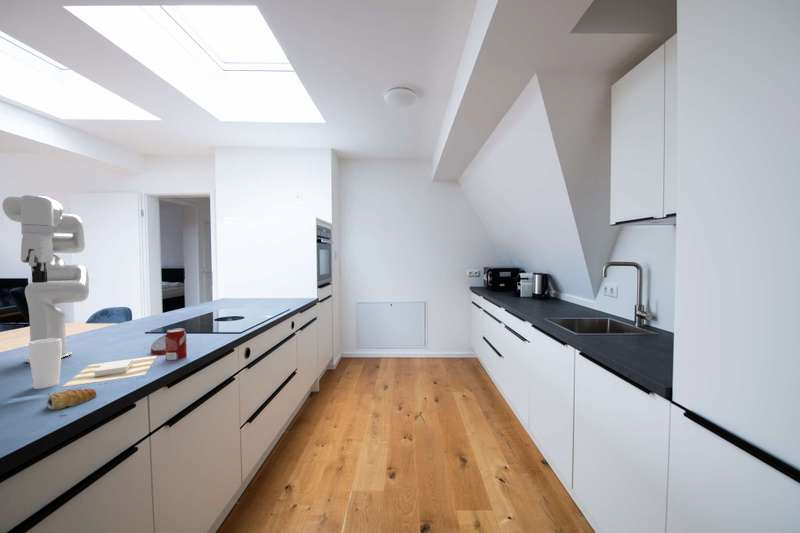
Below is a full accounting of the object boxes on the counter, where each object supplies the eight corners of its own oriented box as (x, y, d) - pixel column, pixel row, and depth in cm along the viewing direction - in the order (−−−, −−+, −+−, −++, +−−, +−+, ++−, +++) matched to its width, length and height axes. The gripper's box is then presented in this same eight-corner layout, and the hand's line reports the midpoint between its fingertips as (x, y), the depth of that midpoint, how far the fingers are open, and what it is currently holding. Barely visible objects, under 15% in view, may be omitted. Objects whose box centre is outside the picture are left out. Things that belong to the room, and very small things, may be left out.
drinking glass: (32, 394, 91) (30, 344, 91) (27, 389, 95) (26, 341, 94) (65, 386, 97) (64, 339, 96) (60, 382, 100) (58, 336, 100)
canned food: (180, 363, 132) (185, 344, 130) (150, 366, 125) (155, 347, 122) (174, 346, 139) (180, 328, 137) (146, 349, 132) (151, 330, 129)
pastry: (91, 393, 92) (91, 381, 92) (100, 398, 89) (99, 385, 88) (44, 407, 84) (44, 393, 84) (52, 413, 80) (51, 399, 80)
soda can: (175, 363, 118) (175, 332, 118) (161, 362, 119) (160, 331, 119) (191, 357, 125) (190, 328, 124) (177, 356, 126) (176, 327, 126)
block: (104, 362, 110) (94, 371, 102) (133, 358, 114) (126, 366, 106) (104, 368, 110) (94, 377, 102) (133, 364, 115) (126, 372, 106)
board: (89, 367, 114) (89, 364, 114) (157, 358, 125) (157, 355, 124) (61, 390, 94) (61, 387, 94) (145, 377, 104) (145, 374, 104)
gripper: (33, 232, 114) (35, 281, 114) (9, 228, 101) (11, 284, 101) (62, 233, 117) (63, 280, 118) (43, 229, 105) (44, 283, 105)
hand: (39, 282), depth 110 cm, fingers closed
